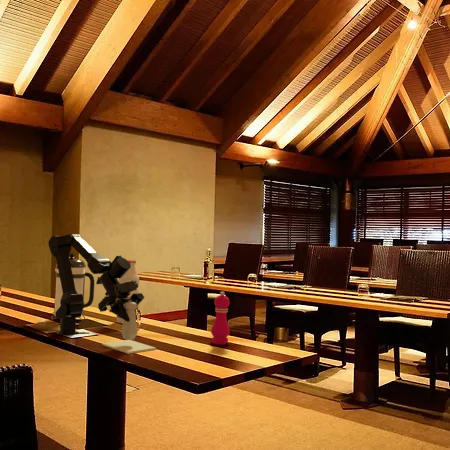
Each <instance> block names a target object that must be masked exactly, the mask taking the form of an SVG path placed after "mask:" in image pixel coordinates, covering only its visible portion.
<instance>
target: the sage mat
mask: <svg viewBox="0 0 450 450" xmlns="http://www.w3.org/2000/svg"><path fill="white" fill-rule="evenodd" d="M101 345H102V346H104V347H107V348H110V349H113V350H115V351H118V352H122V353H125V354H128V355H129V354H133V353H134V354H135V353H142V352H147V351H148V352H149V351H154V350H157V347H154V346H152V345H148V344H145V343H141V342H138V341H135V340H133V339H131V340H128V339H123V340H117V341H116V340H115V341H108V342H102V343H101Z"/></svg>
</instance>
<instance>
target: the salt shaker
mask: <svg viewBox="0 0 450 450" xmlns="http://www.w3.org/2000/svg"><path fill="white" fill-rule="evenodd" d="M136 308H137V304H136V303H134V302H127V303H125V309H126V312H127V314H128V316H129V319H130V321H129V322H127V321H125V320H124V322H123V324H122V327H121V335H122V338H123V340H134V339H135V338H136V336H137V335H138V326H137V323H138V322H137V323H136V315H135V309H136Z"/></svg>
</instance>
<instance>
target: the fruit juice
mask: <svg viewBox="0 0 450 450" xmlns="http://www.w3.org/2000/svg"><path fill="white" fill-rule="evenodd" d="M126 260H127V261H129V262H130V264H131V267H130V269H129V270H128V271H127V272H126V273H125V274H124V276H123V277H122V278H118V281H119V283H120V284H122V283H125V282H130V281H132V280H136V281H137V283H138V285H139V284H140V277H139V275H138V271H137V269H136V266H135V265H136V262H137V261H136V260H135V259H134V260H133V259H126ZM130 293H131V294H130V295H129V296H127V297H128V298H130V297H131V296H132V294H134V293H140V289H139V287H138V288H137V290H134V291H131V292H130ZM124 308H125V306H124ZM136 309H137V310H138V311H139V304H138V305H137V308H136ZM122 322H123V319H122V318H121V317H119V316H117V315H116V323H117V324H122ZM122 325H123V324H122Z"/></svg>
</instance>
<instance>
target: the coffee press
mask: <svg viewBox="0 0 450 450" xmlns="http://www.w3.org/2000/svg"><path fill="white" fill-rule="evenodd" d="M74 257H75V254H74V252H70V255H69V259H70V264H71V269H72V274H73V279H74V284H75V289H76V292H77V293H78V294H82V296H83V301H85V299H84V298H85V284H86V283H85V281H86V280H85V279H86V277H87V278H89V297H88V301H87V302H86V303H84V309H85V308H88V307H90V306H91V305H92V304H93V302H94V296H95V278H94V274H93V273H90V272H86V267H87V264H86V262H85V261H84V259H83V260H82V259H79V258H74ZM54 271H55V290H54V309H53V314H52V315H51V316H50V319H51V320H56V319H57V318H56V315H55V312H56V311H57V310H58V309H59V307H60V306H61V304H60V300H61V298H62V295H63V291H62V286H61V281H60V276H59V270H58V265H57V263H56V264H55V270H54ZM53 316H55V317H54V318H53ZM82 317H83V318H82ZM76 319H80V321H82V322H85V320H86V317H85V316H84V310H83V311H82V314H81V317H76Z"/></svg>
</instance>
